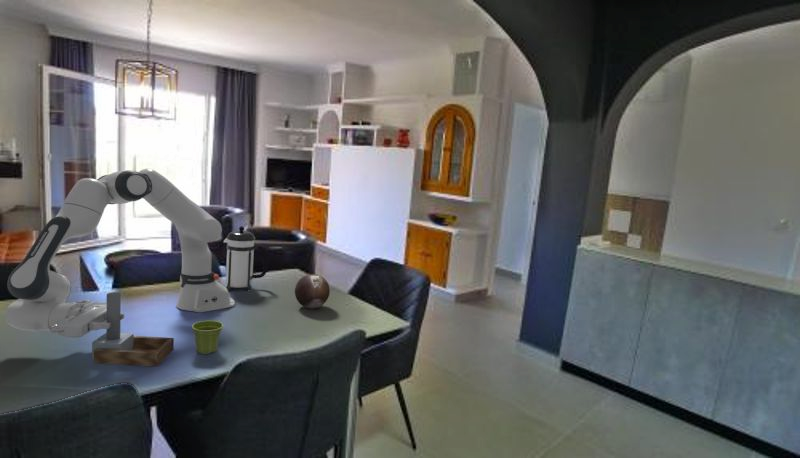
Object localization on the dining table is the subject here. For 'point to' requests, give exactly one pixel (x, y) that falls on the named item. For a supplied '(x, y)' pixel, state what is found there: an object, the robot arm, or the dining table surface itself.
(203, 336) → the plant pot
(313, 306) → the brown ball
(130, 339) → the gray post
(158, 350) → the bay
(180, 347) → the dining table surface
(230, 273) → the coffee press
